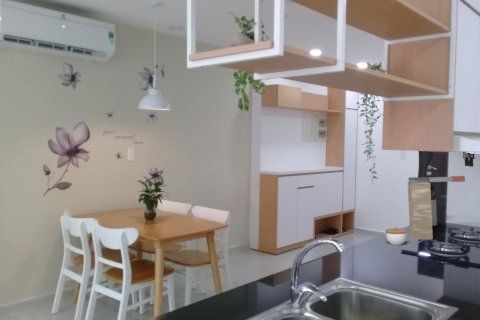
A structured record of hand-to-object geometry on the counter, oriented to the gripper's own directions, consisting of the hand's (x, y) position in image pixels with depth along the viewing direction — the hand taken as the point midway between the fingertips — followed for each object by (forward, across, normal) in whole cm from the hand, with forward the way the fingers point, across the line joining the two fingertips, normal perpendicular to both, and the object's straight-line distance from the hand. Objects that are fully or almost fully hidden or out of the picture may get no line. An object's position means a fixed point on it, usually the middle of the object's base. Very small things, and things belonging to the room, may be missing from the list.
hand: (469, 166), depth 252 cm
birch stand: (+40, +10, -30) cm, 51 cm away
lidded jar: (+40, +30, -46) cm, 68 cm away
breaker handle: (+8, +10, -15) cm, 20 cm away
